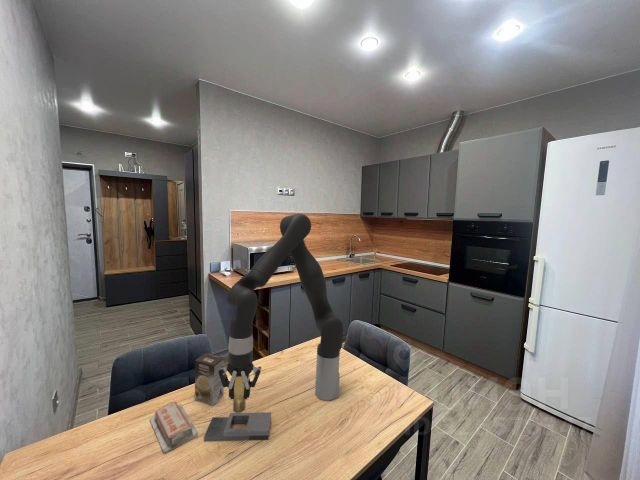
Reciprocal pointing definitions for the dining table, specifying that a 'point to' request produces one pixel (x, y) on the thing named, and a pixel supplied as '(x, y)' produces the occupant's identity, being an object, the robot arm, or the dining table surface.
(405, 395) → the dining table surface
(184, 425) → the packaged product
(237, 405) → the pin
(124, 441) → the dining table surface
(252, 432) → the grey socket base
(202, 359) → the coffee box
